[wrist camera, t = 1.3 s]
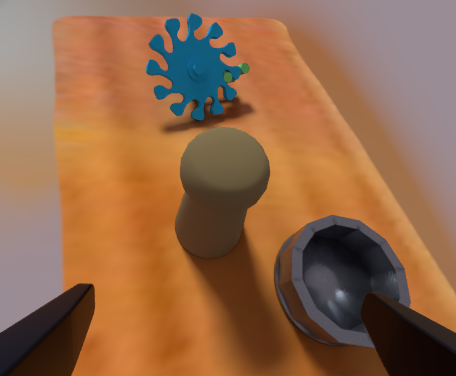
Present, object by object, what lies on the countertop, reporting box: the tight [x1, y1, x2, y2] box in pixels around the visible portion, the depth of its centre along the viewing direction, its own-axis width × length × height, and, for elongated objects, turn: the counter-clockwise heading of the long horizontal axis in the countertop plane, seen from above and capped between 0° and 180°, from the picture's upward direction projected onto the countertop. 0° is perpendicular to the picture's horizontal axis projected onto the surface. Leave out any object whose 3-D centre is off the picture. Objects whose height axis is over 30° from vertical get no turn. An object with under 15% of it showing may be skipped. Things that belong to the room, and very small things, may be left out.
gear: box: [146, 14, 250, 120], centre depth 29 cm, size 11×6×10 cm
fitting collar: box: [274, 215, 411, 348], centre depth 21 cm, size 10×10×4 cm
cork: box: [175, 127, 270, 258], centre depth 18 cm, size 6×6×11 cm
